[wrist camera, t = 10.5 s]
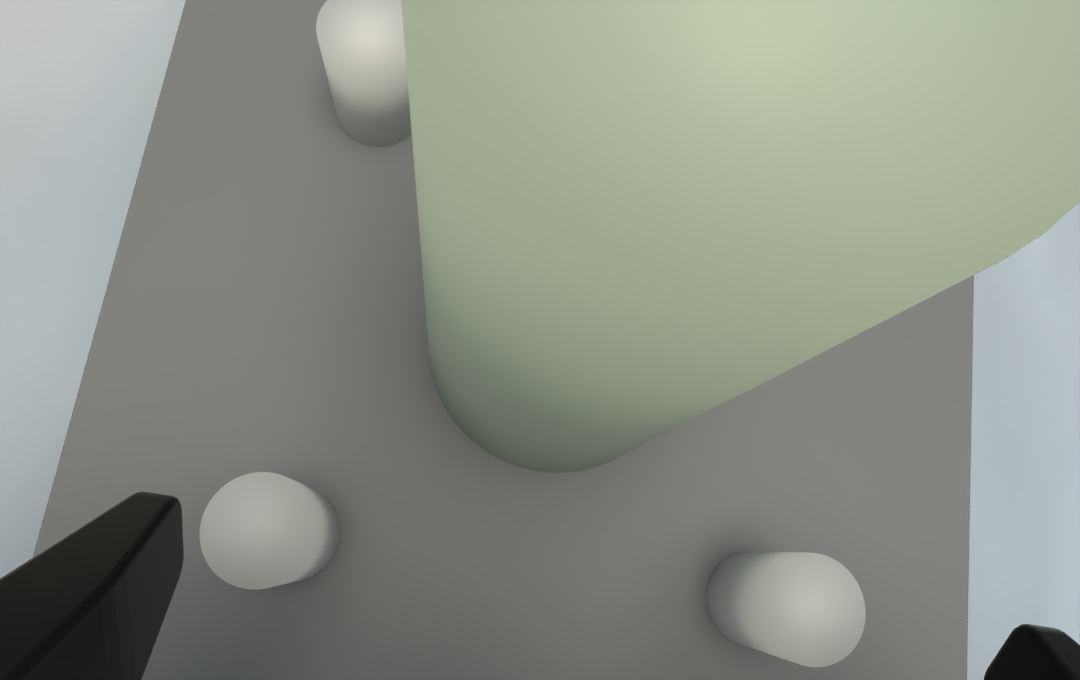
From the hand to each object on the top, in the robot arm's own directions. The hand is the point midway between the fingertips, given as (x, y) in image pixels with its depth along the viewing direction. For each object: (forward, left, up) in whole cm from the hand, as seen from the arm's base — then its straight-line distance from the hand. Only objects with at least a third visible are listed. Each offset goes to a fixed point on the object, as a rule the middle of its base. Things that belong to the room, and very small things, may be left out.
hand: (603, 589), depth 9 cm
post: (+4, -3, -8) cm, 9 cm away
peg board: (+4, -3, -9) cm, 10 cm away
